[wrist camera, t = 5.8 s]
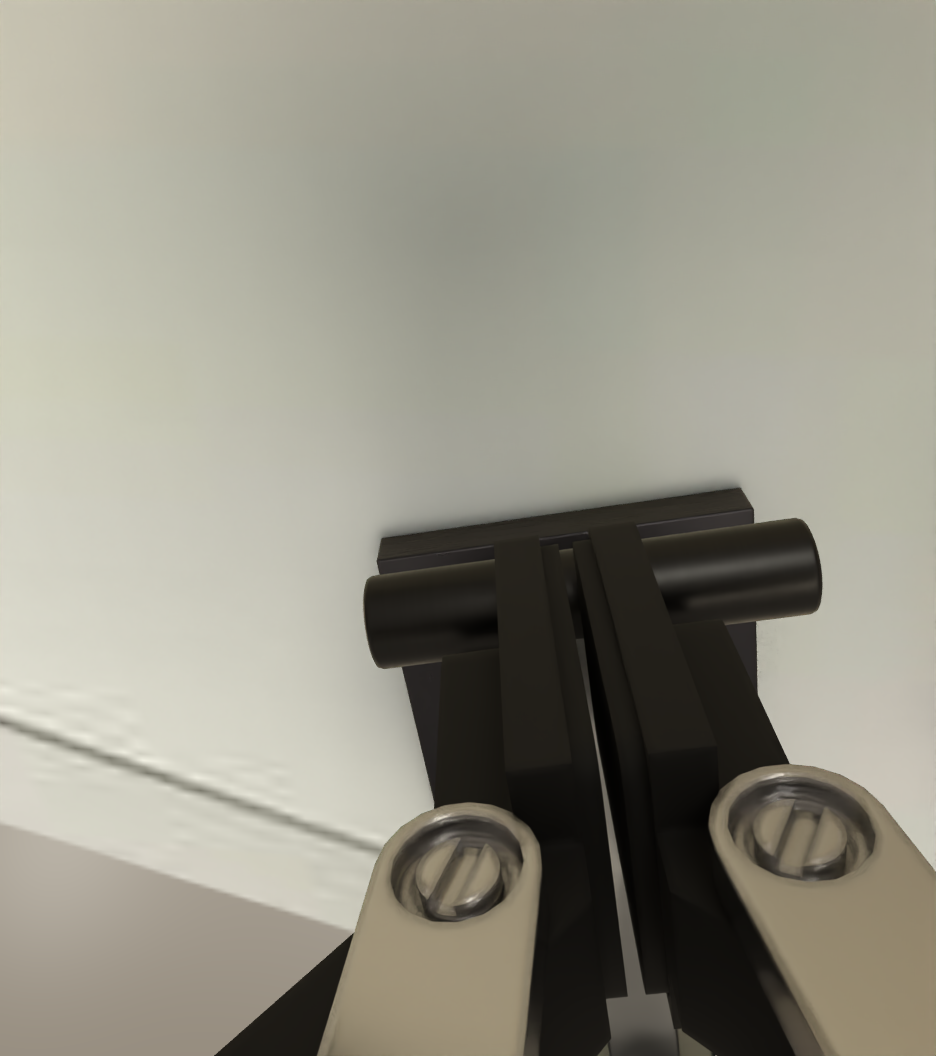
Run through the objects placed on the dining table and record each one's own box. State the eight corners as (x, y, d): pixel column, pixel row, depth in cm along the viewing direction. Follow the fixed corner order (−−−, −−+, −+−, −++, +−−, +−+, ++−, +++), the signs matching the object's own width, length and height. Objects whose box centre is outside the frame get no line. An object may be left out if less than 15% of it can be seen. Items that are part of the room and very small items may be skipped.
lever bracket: (380, 537, 23) (282, 1010, 11) (741, 487, 22) (1023, 938, 11) (453, 850, 28) (437, 1398, 16) (750, 817, 27) (949, 1367, 16)
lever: (374, 542, 12) (350, 629, 10) (777, 486, 12) (843, 562, 10) (497, 1094, 17) (498, 1237, 15) (794, 1068, 16) (841, 1212, 14)
